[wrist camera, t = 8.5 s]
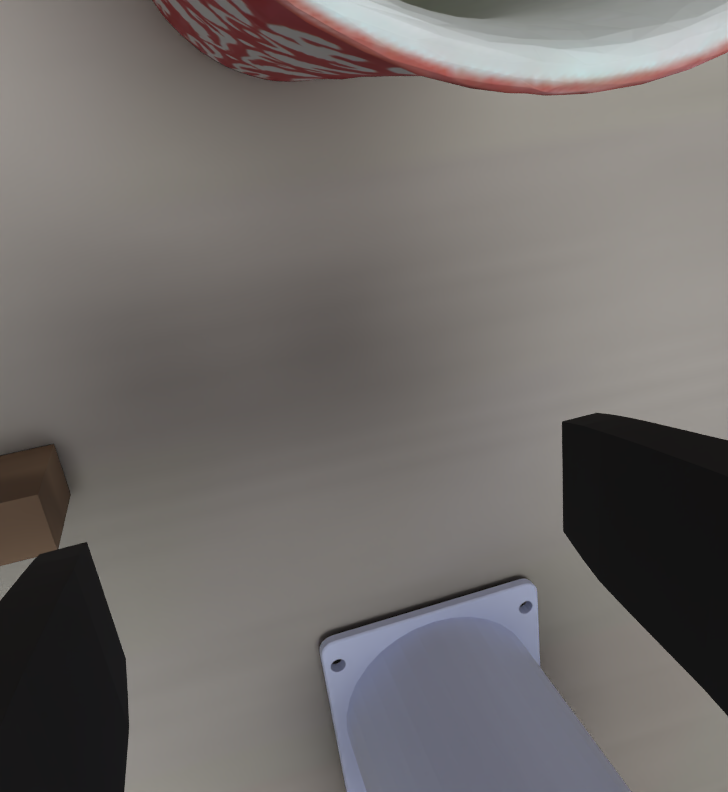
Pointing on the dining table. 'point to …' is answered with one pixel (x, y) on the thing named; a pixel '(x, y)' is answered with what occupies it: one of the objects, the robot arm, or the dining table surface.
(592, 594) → the dining table surface
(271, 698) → the dining table surface
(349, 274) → the dining table surface
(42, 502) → the rail
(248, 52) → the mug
